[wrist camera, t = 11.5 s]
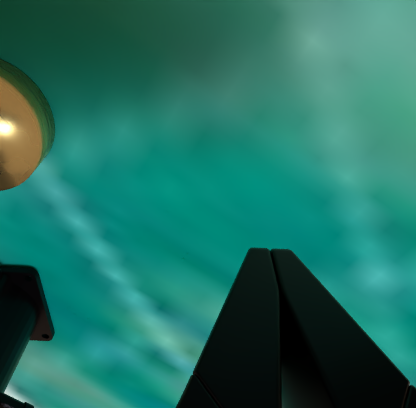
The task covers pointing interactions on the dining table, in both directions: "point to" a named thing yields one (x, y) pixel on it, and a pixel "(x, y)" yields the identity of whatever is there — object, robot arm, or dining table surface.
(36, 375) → the dining table surface
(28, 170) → the gold rounded dome
